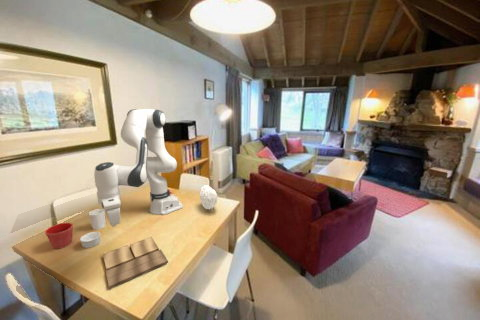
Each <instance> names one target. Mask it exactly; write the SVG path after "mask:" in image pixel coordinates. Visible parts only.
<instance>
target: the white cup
mask: <svg viewBox="0 0 480 320" xmlns="http://www.w3.org/2000/svg"><path fill="white" fill-rule="evenodd" d="M88 218H89V221H90V225H91V227H92V229H93V230H101V229H103V228H105V227H106V224H107V223H106V211H105V210H104V209H103V208H97V209H94V210H90V211H89V213H88Z"/></svg>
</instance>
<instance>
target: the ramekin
mask: <svg viewBox="0 0 480 320" xmlns="http://www.w3.org/2000/svg"><path fill="white" fill-rule="evenodd" d="M79 241H80V242H81V243H80V244H81V245H82V247H83V248H85V249H87V248H88V249H89V248H92V247H95V246H97V245H98V244H99V243H100V242H101V233H100V232H99V231H92V232H91V231H90V232H87V233H86V234H84V235H82V236H81V237H80V238H79Z"/></svg>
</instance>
